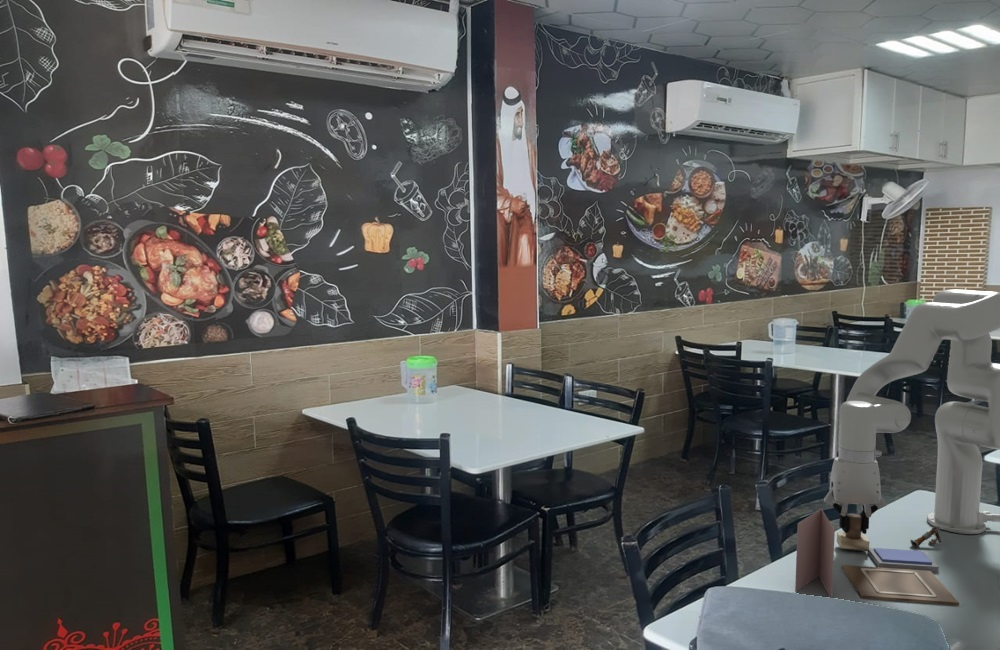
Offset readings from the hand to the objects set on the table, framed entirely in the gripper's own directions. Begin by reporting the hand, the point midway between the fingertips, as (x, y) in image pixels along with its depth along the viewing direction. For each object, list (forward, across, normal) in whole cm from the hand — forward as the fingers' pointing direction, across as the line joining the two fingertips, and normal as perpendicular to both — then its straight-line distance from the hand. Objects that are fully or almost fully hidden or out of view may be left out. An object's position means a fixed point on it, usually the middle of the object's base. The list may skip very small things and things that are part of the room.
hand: (853, 530), depth 167 cm
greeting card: (+5, +12, +21) cm, 25 cm away
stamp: (+4, 0, 0) cm, 4 cm away
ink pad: (+5, -9, +5) cm, 11 cm away
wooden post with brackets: (+5, -18, -6) cm, 19 cm away
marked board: (+5, -4, +17) cm, 18 cm away
